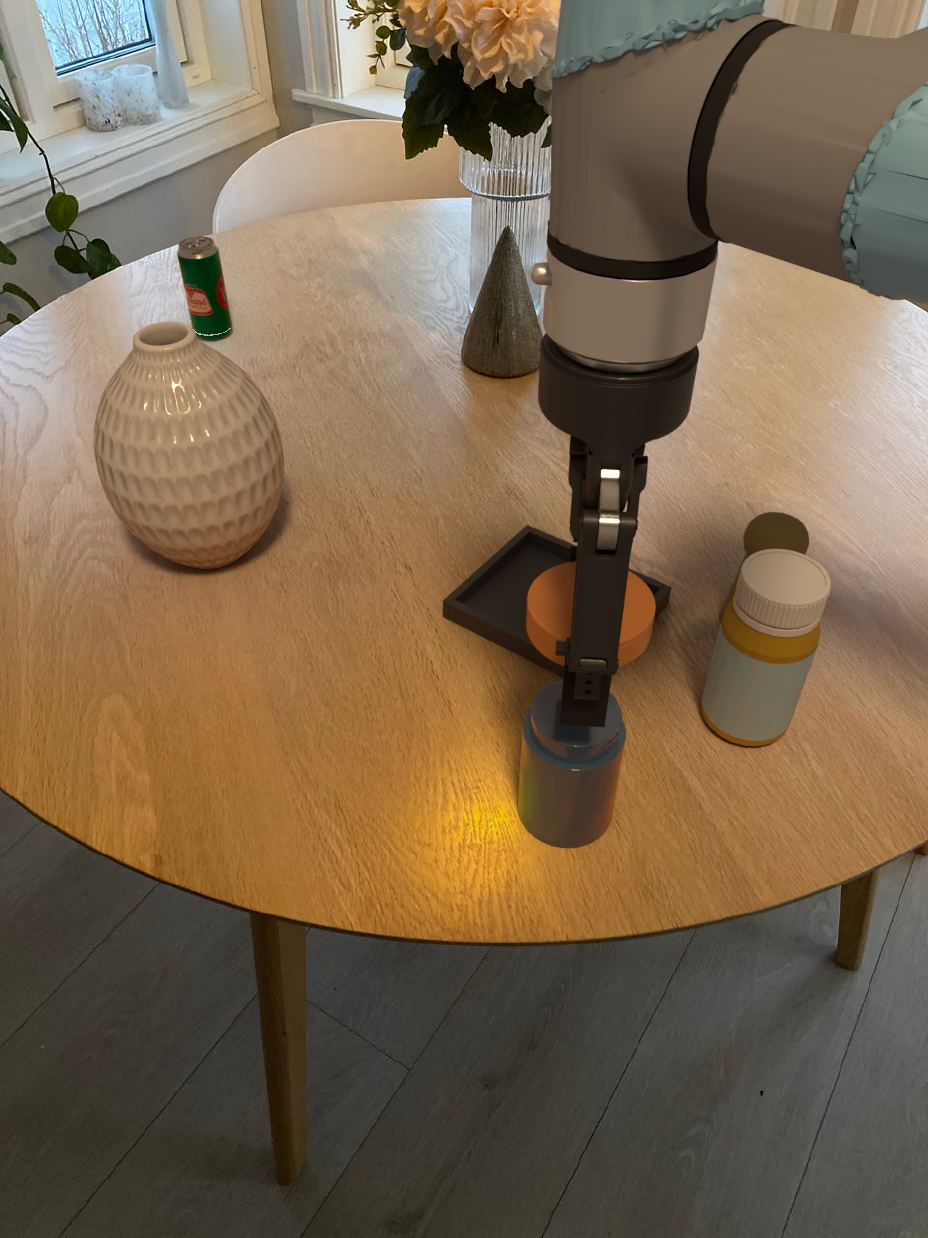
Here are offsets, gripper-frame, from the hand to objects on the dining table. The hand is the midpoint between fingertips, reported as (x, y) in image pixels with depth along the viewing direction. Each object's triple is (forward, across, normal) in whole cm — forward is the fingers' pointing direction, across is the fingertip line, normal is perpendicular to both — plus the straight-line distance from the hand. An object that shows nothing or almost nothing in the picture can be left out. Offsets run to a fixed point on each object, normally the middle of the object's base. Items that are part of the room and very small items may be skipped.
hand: (583, 671), depth 61 cm
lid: (-6, 0, 0) cm, 6 cm away
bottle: (+15, -10, +14) cm, 23 cm away
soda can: (+14, -71, -48) cm, 87 cm away
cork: (+15, -22, +16) cm, 31 cm away
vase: (+15, -27, -35) cm, 47 cm away
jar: (+15, 0, 0) cm, 15 cm away
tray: (+15, -22, -2) cm, 26 cm away
